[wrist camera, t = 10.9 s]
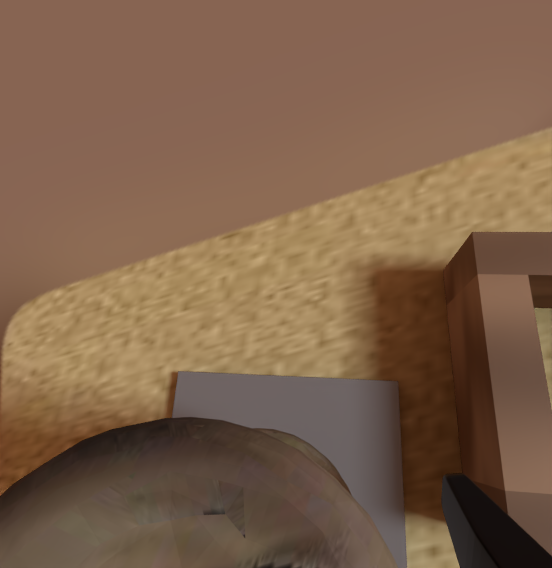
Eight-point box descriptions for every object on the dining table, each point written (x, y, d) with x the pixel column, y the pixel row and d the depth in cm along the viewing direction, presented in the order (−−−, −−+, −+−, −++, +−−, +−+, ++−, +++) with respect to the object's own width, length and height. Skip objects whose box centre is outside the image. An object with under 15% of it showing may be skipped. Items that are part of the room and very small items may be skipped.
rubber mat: (408, 663, 14) (412, 671, 14) (146, 630, 16) (141, 636, 15) (396, 382, 18) (398, 381, 17) (181, 372, 19) (178, 371, 19)
